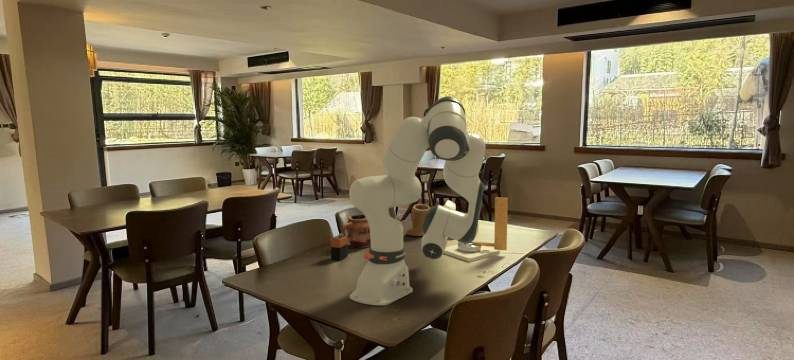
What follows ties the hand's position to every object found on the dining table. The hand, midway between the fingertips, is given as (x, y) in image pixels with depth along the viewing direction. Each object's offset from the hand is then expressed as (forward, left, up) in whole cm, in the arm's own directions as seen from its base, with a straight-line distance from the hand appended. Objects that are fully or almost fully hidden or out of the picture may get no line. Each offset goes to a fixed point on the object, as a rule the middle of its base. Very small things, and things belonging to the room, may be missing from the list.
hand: (440, 216), depth 184 cm
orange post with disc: (+17, -12, -17) cm, 27 cm away
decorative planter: (+5, +41, -19) cm, 46 cm away
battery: (-14, +39, -19) cm, 46 cm away
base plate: (+16, -7, -19) cm, 26 cm away
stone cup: (+37, +25, -19) cm, 49 cm away
